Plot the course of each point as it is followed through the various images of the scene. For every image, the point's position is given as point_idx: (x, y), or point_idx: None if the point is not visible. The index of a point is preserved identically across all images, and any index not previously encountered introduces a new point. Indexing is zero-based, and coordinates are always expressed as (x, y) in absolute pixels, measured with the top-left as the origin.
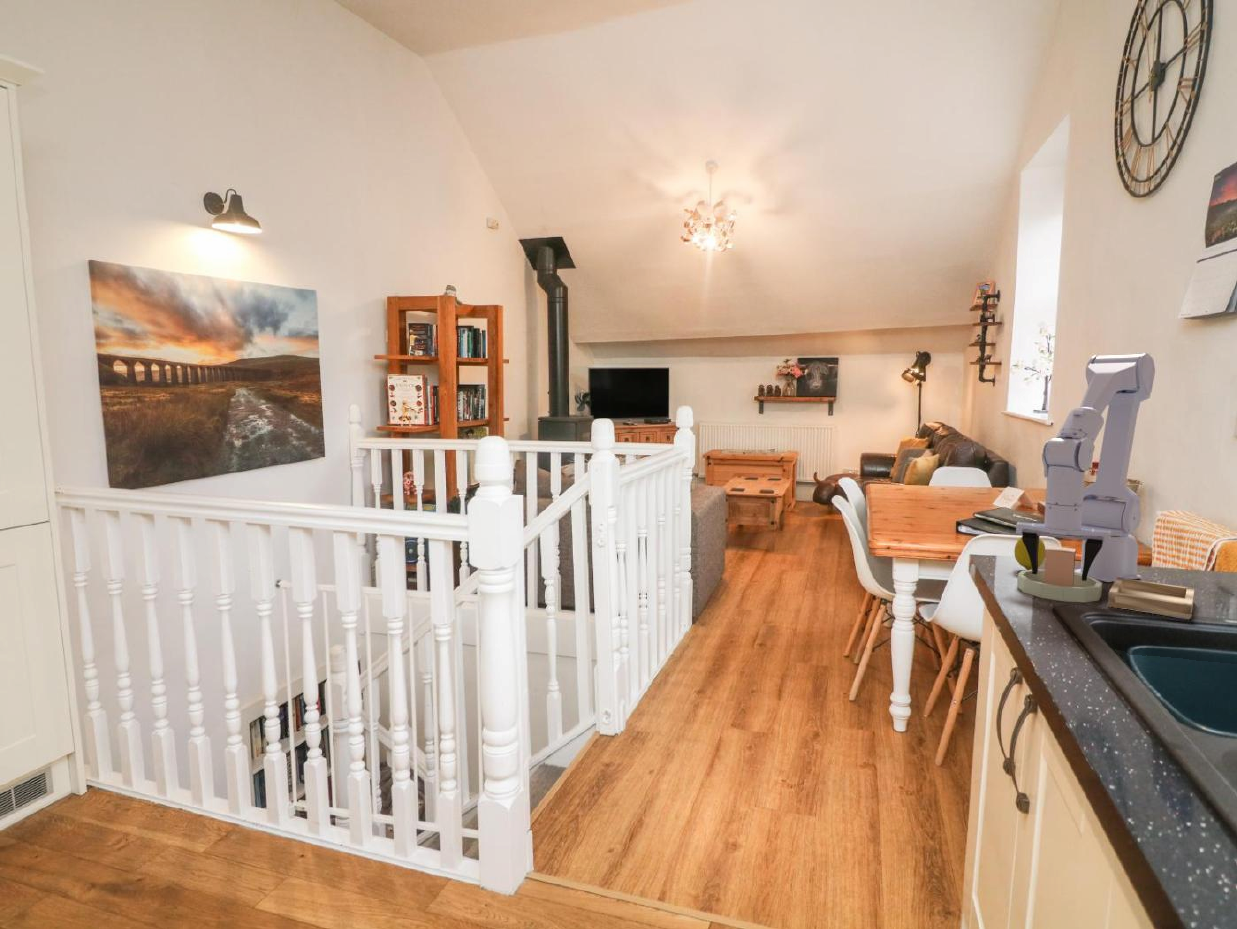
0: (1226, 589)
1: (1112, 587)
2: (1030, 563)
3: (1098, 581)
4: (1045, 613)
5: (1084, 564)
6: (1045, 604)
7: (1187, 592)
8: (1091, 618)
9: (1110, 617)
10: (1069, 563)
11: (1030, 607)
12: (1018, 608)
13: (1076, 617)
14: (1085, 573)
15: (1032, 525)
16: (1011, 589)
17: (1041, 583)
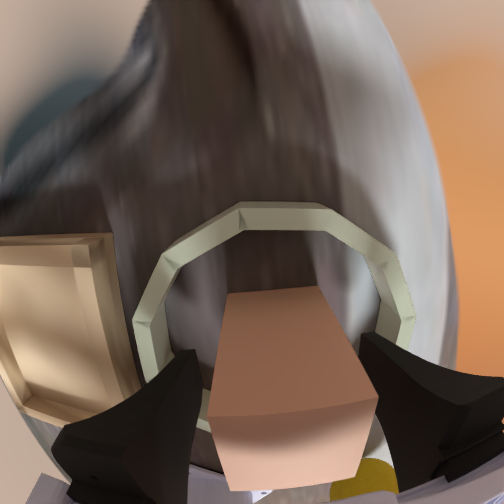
0: (60, 471)
1: (101, 334)
2: (361, 464)
3: None
4: (263, 13)
5: (168, 385)
6: (285, 116)
7: (5, 373)
8: (136, 54)
9: (92, 109)
10: (235, 371)
11: (318, 49)
12: (343, 22)
13: (175, 32)
14: (174, 363)
15: (500, 497)
16: (407, 255)
17: (332, 220)
